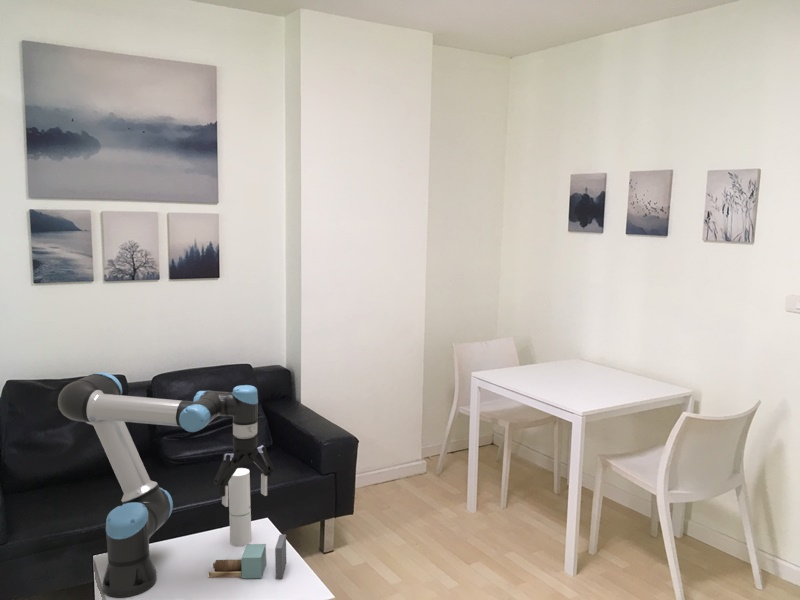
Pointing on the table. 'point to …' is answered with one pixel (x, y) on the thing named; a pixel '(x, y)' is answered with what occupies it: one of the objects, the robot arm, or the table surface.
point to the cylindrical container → (240, 507)
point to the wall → (280, 556)
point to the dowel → (227, 565)
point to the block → (253, 560)
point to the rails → (224, 574)
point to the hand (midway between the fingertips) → (244, 499)
